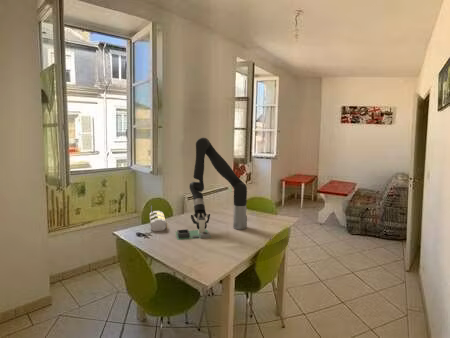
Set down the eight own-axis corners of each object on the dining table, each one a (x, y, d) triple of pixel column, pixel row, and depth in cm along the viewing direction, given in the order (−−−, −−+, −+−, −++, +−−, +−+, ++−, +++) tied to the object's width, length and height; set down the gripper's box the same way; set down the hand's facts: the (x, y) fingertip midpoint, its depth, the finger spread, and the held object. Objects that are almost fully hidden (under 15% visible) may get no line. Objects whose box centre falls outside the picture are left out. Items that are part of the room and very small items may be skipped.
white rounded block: (149, 220, 244) (149, 204, 242) (163, 220, 246) (163, 203, 245) (151, 231, 220) (150, 213, 218) (166, 230, 223) (165, 212, 221)
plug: (203, 232, 215) (204, 217, 213) (204, 234, 211) (205, 218, 209) (198, 232, 214) (198, 217, 212) (198, 234, 210) (199, 219, 209)
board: (206, 231, 221) (206, 225, 220) (211, 239, 205) (211, 233, 205) (175, 233, 215) (175, 227, 215) (177, 242, 200) (177, 235, 199)
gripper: (189, 204, 215) (192, 226, 205) (210, 203, 219) (213, 225, 209) (188, 209, 221) (190, 231, 211) (208, 208, 225) (211, 230, 215)
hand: (202, 228), depth 210 cm, fingers closed on plug, 4 cm apart
